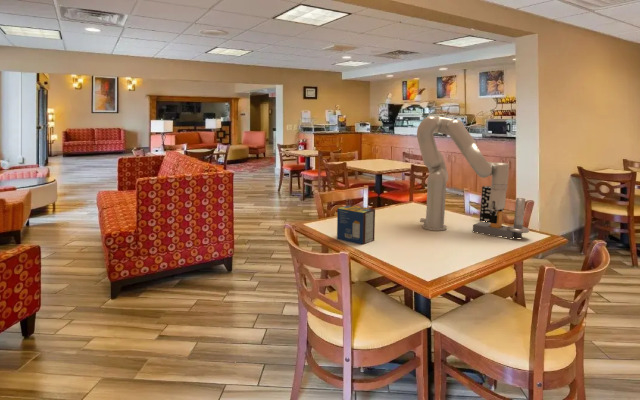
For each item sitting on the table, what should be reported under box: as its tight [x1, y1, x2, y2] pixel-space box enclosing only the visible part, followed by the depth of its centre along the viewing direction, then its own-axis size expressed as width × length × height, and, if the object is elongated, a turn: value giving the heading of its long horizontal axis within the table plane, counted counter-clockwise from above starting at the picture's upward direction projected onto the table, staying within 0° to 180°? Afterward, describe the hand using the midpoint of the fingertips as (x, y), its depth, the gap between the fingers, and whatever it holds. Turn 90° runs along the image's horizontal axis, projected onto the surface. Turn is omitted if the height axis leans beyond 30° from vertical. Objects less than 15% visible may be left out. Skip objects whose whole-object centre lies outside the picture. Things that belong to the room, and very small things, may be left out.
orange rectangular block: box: [490, 210, 504, 228], centre depth 216 cm, size 4×4×12 cm
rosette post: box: [507, 197, 530, 238], centre depth 208 cm, size 10×10×20 cm
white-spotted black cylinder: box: [479, 185, 495, 223], centre depth 245 cm, size 8×8×20 cm
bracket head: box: [472, 221, 514, 238], centre depth 217 cm, size 20×9×4 cm, turn 45°
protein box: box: [336, 204, 376, 245], centre depth 204 cm, size 10×15×16 cm
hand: (496, 221), depth 216 cm, fingers open, 6 cm apart
